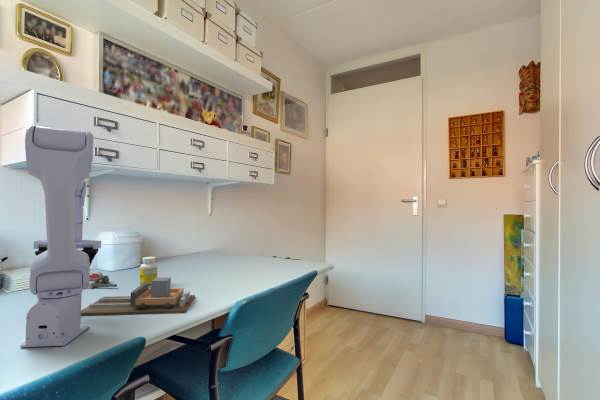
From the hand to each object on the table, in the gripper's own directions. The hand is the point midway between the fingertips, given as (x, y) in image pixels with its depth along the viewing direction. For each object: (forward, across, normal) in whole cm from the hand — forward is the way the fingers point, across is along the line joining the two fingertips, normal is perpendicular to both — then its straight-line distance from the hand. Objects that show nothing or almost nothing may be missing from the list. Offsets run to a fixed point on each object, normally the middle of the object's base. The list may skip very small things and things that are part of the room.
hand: (67, 277), depth 77 cm
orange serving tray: (+9, -21, -6) cm, 24 cm away
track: (+9, -16, -6) cm, 20 cm away
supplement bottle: (+10, -11, -27) cm, 31 cm away
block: (+7, -21, -6) cm, 23 cm away
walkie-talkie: (+10, +7, -29) cm, 32 cm away
